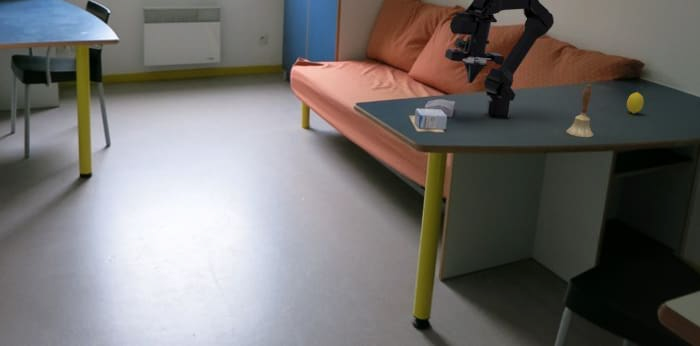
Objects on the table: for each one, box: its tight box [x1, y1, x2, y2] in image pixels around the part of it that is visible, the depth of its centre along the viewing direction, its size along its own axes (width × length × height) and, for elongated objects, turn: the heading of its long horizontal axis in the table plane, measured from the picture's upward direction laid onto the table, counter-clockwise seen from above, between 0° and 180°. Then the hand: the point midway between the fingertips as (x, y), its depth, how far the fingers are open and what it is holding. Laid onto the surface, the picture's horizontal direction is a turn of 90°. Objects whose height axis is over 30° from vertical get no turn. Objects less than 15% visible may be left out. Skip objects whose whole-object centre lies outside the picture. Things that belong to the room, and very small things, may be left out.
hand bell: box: [565, 84, 594, 139], centre depth 230 cm, size 8×8×16 cm
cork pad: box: [408, 115, 445, 134], centre depth 231 cm, size 8×17×1 cm, turn 4°
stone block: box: [424, 98, 456, 118], centre depth 247 cm, size 12×5×10 cm
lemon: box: [626, 91, 645, 115], centre depth 261 cm, size 6×6×8 cm
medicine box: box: [414, 108, 448, 130], centre depth 228 cm, size 8×4×9 cm
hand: (469, 82), depth 238 cm, fingers closed
